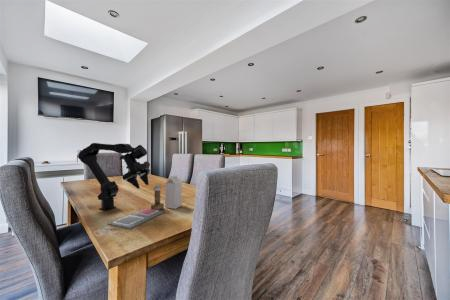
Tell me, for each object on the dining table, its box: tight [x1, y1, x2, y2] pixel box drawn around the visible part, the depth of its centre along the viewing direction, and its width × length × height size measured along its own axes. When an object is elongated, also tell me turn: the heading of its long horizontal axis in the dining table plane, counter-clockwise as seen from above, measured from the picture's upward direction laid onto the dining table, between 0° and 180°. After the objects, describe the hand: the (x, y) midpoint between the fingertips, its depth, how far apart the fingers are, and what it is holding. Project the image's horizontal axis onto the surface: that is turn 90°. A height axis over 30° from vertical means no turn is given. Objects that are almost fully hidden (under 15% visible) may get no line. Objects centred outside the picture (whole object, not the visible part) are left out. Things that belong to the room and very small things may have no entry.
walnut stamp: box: [150, 183, 165, 211], centre depth 111 cm, size 5×5×15 cm
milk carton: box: [164, 175, 183, 210], centre depth 116 cm, size 7×7×19 cm
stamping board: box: [107, 208, 165, 230], centre depth 96 cm, size 14×23×2 cm, turn 160°
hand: (143, 186), depth 109 cm, fingers open, 9 cm apart
